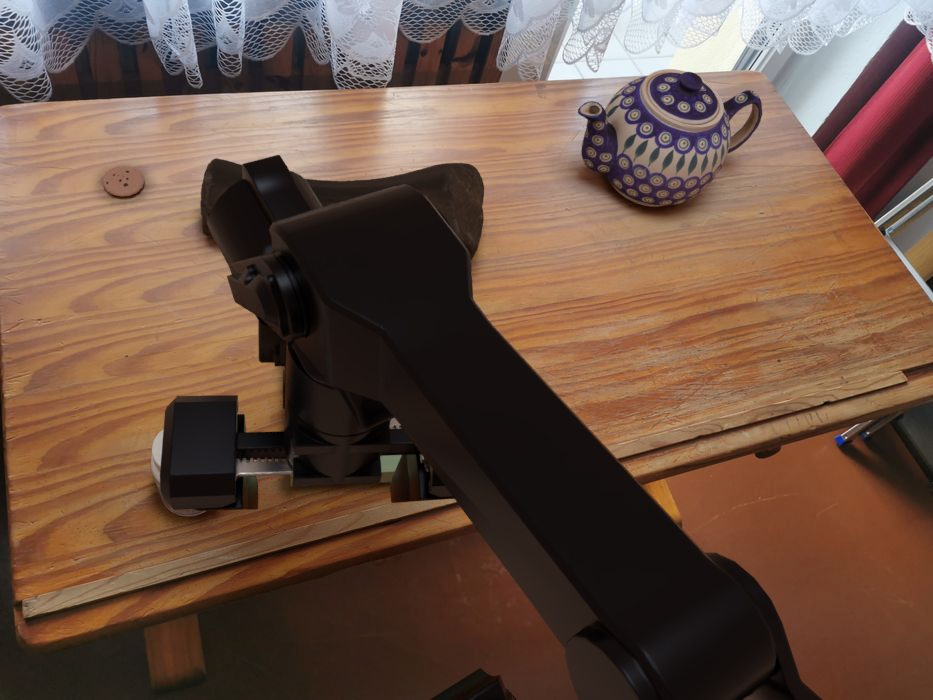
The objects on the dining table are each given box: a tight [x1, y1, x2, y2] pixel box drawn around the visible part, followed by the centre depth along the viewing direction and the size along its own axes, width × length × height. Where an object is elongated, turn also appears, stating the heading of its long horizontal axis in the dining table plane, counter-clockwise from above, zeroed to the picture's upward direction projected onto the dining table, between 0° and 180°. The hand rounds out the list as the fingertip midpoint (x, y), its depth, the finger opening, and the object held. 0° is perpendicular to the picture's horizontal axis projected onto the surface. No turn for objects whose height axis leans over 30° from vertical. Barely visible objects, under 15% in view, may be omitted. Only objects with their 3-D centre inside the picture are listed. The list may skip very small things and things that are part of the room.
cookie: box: [102, 165, 145, 197], centre depth 78 cm, size 4×4×1 cm
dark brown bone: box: [199, 157, 485, 261], centre depth 78 cm, size 11×10×28 cm
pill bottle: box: [150, 428, 207, 517], centre depth 60 cm, size 5×5×8 cm
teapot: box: [577, 68, 763, 208], centre depth 89 cm, size 25×15×15 cm, turn 105°
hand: (325, 498), depth 53 cm, fingers open, 9 cm apart
